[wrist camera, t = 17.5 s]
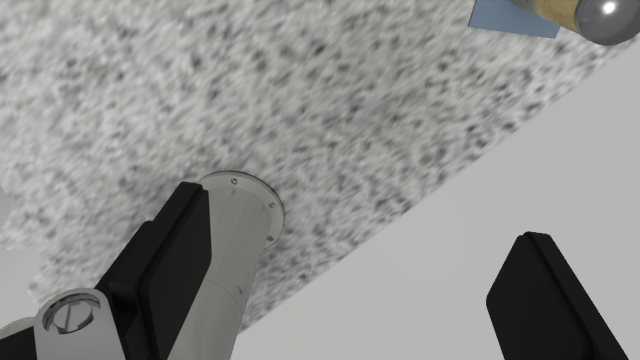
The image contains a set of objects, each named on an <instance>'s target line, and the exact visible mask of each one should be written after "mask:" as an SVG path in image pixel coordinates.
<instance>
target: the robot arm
mask: <svg viewBox="0 0 640 360" xmlns="http://www.w3.org/2000/svg"><path fill="white" fill-rule="evenodd" d="M283 224H284V211H283V207H282V205H281V202H280V200H279V199H278V197H277V196H276V194H275V193H274V192H273V191H272V190H271V189H270V188H269V187H268V186H267V185H265V184H264V183H263V182H261V181H260V180H258V179H256V178H254V177H252V176H249V175H246V174H243V173H238V172H218V173H214V174H211V175H208V176H206V177H204V178H203V179H201V180H200V181H199V182H198V183H190V182H181V183H180V184H179V186H178V187H177V188H176V190H175V191H174V193H173V194H172V195H171V197H170V198H169V199H168V201H167V202H166V204H165V205H164V206H163V208H162V209H161V210H160V212H159V213H158V215H157V216H156V217H155V219H154V220H153V221H149V220H148V221H146V222H144V223H143V224H142V225H141V227H140V228H139V229H138V231H137V232H136V233H135V235H134V236H133V237H132V239H131V240H130V241H129V243H128V244H127V245H126V247H125V248H124V249H123V251H122V252H121V253H120V255H119V256H118V257H117V259H116V260H115V261H114V263H113V264H112V265H111V267H110V268H109V269H108V271H107V272H106V273H105V274H104V276H103V277H102V278H101V280H100V281H99V282H98V284H97V285H96V286H95V288H94V289H92V288H77V289H72V290H68V291H66V292H63V293H61V294H59V295H57V296H55V297H54V298H52V299H51V300H49V301H48V302H46V303H45V304H44V305H43V306H42V308H41V309H40V310H39V311H38V313H37V315H36V317H26V318H22V319H19V320H17V321H14V322H12V323H10V324H8V325H6V326H5V327H3V328H2V329H0V360H230V358H231V354H232V350H233V347H234V343H235V340H236V337H237V333H238V330H239V327H240V324H241V321H242V317H243V314H244V311H245V308H246V304H247V301H248V298H249V295H250V291H251V288H252V285H253V282H254V278H255V275H256V272H257V269H258V265H259V262H260V259H261V256H262V253H263V249H265V248H267V247H269V246H270V245H272V244H273V243H274V242H275V241H276V240H277V239H278V237H279V235H280V233H281V231H282V228H283ZM486 306H487V309H488V312H489V315H490V318H491V321H492V324H493V327H494V330H495V333H496V336H497V339H498V342H499V345H500V348H501V350H502V353H503V356H504V359H505V360H629V359H628V357H627V356H626V354H625V353H624V351H623V349H622V348H621V346H620V345H619V343H618V342H617V340H616V339H615V337H614V335H613V334H612V332H611V331H610V329H609V328H608V326H607V324H606V323H605V321H604V319H603V318H602V316H601V315H600V313H599V312H598V310H597V309H596V307H595V305H594V304H593V302H592V301H591V299H590V297H589V296H588V294H587V293H586V291H585V290H584V288H583V286H582V285H581V283H580V282H579V280H578V279H577V277H576V275H575V274H574V272H573V271H572V269H571V268H570V266H569V264H568V263H567V261H566V260H565V258H564V256H563V255H562V253H561V252H560V250H559V249H558V247H557V246H556V244H555V242H554V241H553V239H552V238H551V236H550V235H548V234H543V233H536V232H529V231H528V232H525V233H524V234H523V235H519V236H518V237H517V239H516V241H515V243H514V245H513V246H512V249H511V250H510V252H509V254H508V256H507V258H506V260H505V262H504V264H503V266H502V268H501V270H500V272H499V274H498V276H497V278H496V279H495V282H494V283H493V285H492V287H491V289H490V291H489V293H488V295H487V299H486Z"/></svg>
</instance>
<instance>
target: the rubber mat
mask: <svg viewBox="0 0 640 360" xmlns="http://www.w3.org/2000/svg"><path fill="white" fill-rule="evenodd" d="M468 26H469V27H475V28H482V29H489V30H496V31H504V32H511V33H518V34H525V35H533V36H540V37H547V38H554V39H555V38H556V35H557V33H558V31H559V28H560V25H558V24H555V23H553V22H551V21H549V20H546V19H544V18H542V17H539V16H537V15H535V14H533V13H530V12H528V11H526V10H524V9H521V8H519V7H517V6H515V5H513V4H512V3H511V2H510V0H476V1H475V5H474V8H473V11H472V14H471V18H470V21H469V24H468Z"/></svg>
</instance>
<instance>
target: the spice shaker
mask: <svg viewBox="0 0 640 360" xmlns="http://www.w3.org/2000/svg"><path fill="white" fill-rule="evenodd" d="M510 2H511V3H512V4H513V5H515V6H517V7H519V8H521V9H524V10H526V11H528V12H530V13H533V14H535V15H537V16H539V17H542V18H544V19H546V20H549V21H551V22H553V23H555V24H558V25H560V26H562V27H564V28H567V29H569V30H571V31H574V32H576V33H578V34H580V35H581V36H582V37H583V38H585V39H587V40H589V41H591V42H594V43H596V44H599V45H606V46H607V45H616V44H619V43H622V42H625V41H627V40H629V39H631V38H632V37H634V36H635V35H636V34H638V33H639V32H640V0H510Z"/></svg>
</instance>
